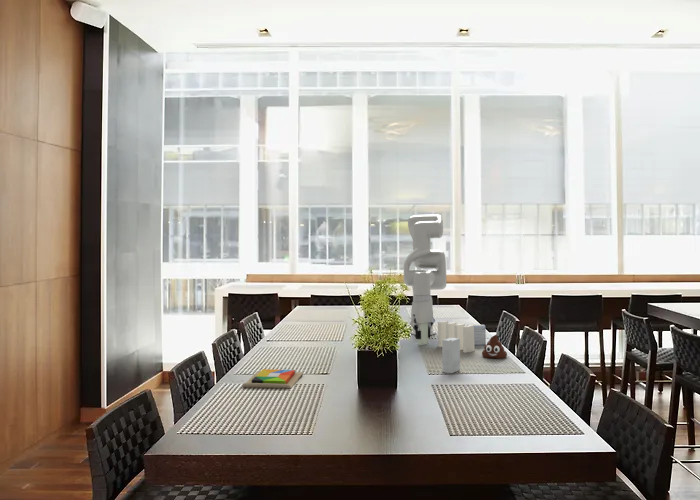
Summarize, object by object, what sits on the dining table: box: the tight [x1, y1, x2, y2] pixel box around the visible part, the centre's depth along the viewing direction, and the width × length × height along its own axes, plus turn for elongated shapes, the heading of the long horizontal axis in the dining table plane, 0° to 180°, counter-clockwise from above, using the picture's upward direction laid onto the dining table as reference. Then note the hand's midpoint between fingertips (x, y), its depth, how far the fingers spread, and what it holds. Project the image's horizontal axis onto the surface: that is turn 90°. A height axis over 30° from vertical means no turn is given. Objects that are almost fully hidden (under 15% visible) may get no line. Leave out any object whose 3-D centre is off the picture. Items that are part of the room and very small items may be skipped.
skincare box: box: [441, 338, 461, 374], centre depth 218 cm, size 6×4×12 cm
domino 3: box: [446, 321, 458, 339], centre depth 260 cm, size 2×5×11 cm, turn 125°
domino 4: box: [454, 323, 466, 351], centre depth 256 cm, size 2×5×11 cm, turn 124°
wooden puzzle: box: [241, 368, 304, 389], centre depth 210 cm, size 18×19×4 cm
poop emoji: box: [481, 334, 508, 360], centre depth 240 cm, size 10×8×9 cm
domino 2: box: [437, 320, 449, 348], centre depth 264 cm, size 2×5×11 cm, turn 124°
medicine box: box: [466, 324, 487, 346], centre depth 267 cm, size 8×4×9 cm, turn 84°
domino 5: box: [462, 324, 475, 353], centre depth 251 cm, size 2×5×11 cm, turn 125°
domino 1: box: [417, 323, 429, 346], centre depth 270 cm, size 2×5×11 cm, turn 125°
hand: (422, 337), depth 270 cm, fingers closed on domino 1, 4 cm apart
